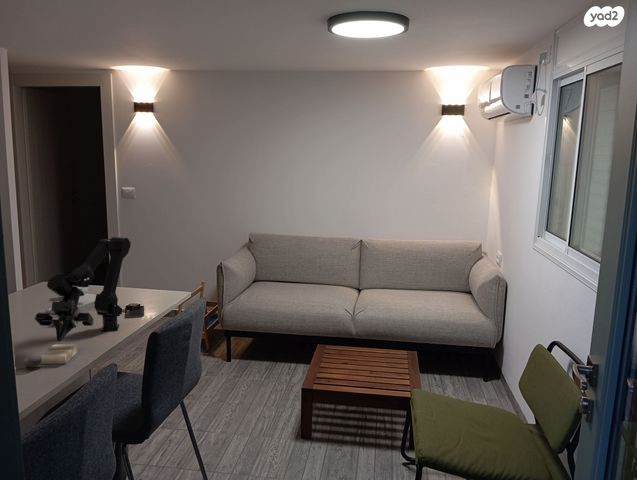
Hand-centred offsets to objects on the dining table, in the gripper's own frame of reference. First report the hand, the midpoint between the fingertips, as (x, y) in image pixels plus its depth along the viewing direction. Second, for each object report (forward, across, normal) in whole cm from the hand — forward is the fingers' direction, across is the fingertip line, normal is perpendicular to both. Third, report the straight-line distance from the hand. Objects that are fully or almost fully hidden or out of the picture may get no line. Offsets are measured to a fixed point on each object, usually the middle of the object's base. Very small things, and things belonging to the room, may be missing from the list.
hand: (58, 341), depth 177 cm
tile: (0, 0, +7) cm, 7 cm away
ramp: (-35, -16, +46) cm, 60 cm away
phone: (-32, +12, +42) cm, 54 cm away
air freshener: (-49, -24, +59) cm, 81 cm away
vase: (-23, -11, +33) cm, 42 cm away
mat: (+4, 0, +6) cm, 7 cm away
